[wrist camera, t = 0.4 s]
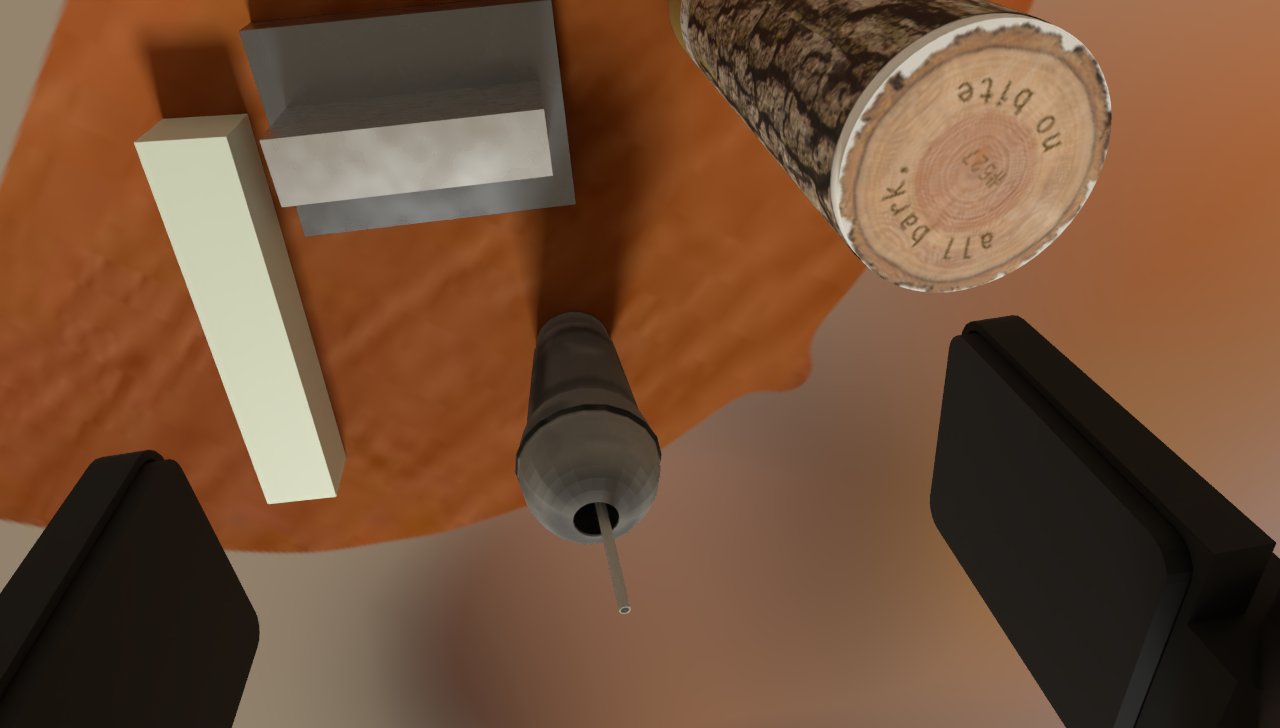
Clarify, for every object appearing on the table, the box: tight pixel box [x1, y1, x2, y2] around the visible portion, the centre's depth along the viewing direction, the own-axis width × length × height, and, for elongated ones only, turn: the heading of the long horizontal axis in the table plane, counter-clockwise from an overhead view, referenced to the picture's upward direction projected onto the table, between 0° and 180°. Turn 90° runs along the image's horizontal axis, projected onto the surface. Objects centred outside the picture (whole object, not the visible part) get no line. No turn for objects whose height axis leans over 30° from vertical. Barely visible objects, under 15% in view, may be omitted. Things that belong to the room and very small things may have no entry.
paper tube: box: [668, 0, 1111, 292], centre depth 30 cm, size 7×7×25 cm
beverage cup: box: [515, 312, 661, 614], centre depth 42 cm, size 7×7×20 cm
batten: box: [134, 114, 346, 504], centre depth 45 cm, size 22×4×4 cm, turn 1°
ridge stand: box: [239, 0, 576, 236], centre depth 38 cm, size 10×14×7 cm
